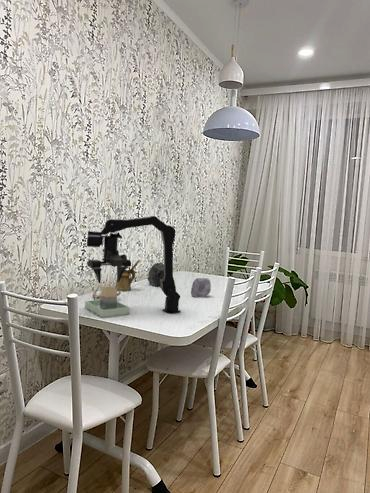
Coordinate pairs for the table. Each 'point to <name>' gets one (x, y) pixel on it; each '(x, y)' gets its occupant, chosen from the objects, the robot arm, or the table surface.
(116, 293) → the skeleton model
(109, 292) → the carton
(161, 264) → the rock
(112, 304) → the tea tin
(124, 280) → the wooden mug
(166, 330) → the table surface
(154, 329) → the table surface
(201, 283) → the rock
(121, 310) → the tote
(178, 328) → the table surface
